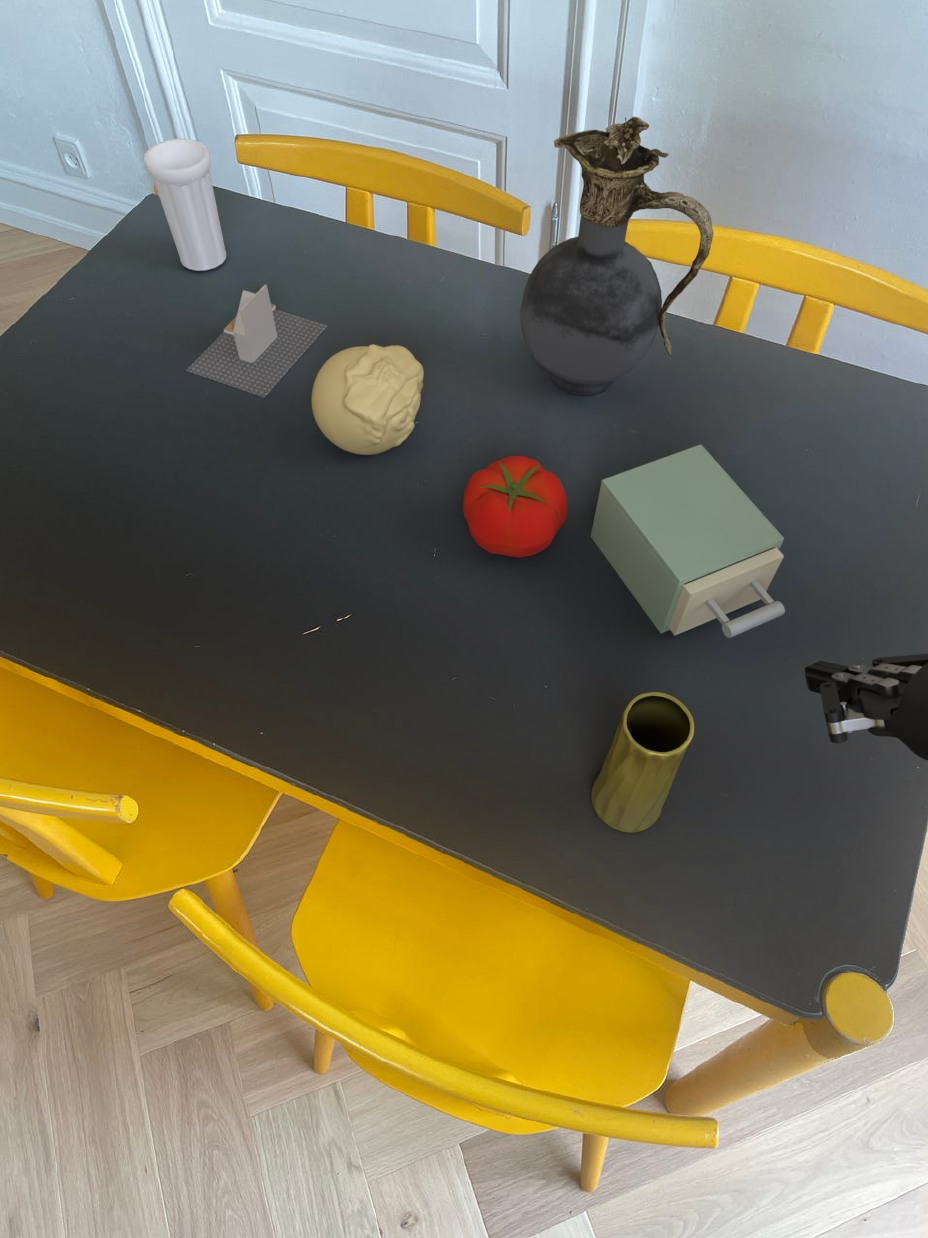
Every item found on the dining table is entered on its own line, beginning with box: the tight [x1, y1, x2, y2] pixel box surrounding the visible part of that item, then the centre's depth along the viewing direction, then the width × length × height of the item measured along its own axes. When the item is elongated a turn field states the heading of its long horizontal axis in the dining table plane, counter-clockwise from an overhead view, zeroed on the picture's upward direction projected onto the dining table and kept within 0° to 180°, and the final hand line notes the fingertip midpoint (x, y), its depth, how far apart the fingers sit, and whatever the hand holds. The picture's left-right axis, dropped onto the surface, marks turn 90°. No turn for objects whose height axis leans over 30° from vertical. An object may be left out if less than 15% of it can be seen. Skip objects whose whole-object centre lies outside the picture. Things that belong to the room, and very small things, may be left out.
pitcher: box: [519, 116, 714, 397], centre depth 92 cm, size 11×19×30 cm, turn 65°
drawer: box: [668, 547, 786, 639], centre depth 83 cm, size 17×10×7 cm, turn 25°
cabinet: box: [590, 444, 785, 634], centre depth 85 cm, size 14×12×9 cm
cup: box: [143, 138, 227, 272], centre depth 112 cm, size 8×8×14 cm
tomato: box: [462, 455, 568, 559], centre depth 88 cm, size 11×11×8 cm
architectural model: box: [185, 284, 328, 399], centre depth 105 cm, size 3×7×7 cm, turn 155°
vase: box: [590, 691, 695, 834], centre depth 68 cm, size 6×6×14 cm
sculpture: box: [311, 343, 425, 456], centre depth 94 cm, size 12×12×11 cm
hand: (813, 674), depth 73 cm, fingers closed
